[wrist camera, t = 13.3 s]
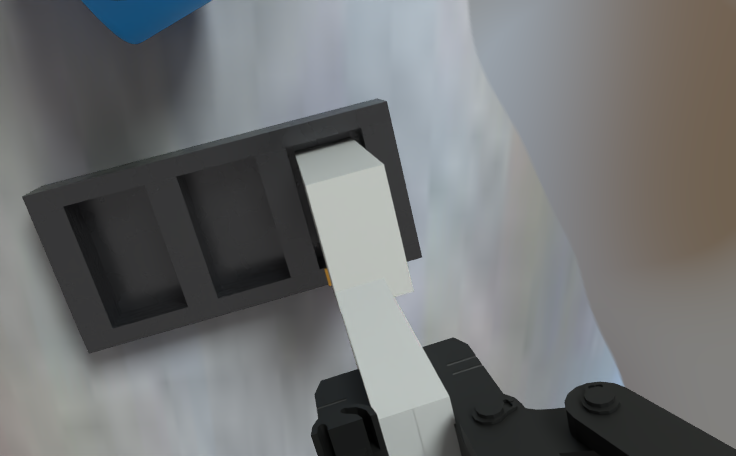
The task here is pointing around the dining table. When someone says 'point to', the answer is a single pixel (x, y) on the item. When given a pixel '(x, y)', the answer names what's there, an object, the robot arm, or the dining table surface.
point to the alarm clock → (141, 15)
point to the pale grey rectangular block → (354, 216)
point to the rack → (201, 227)
